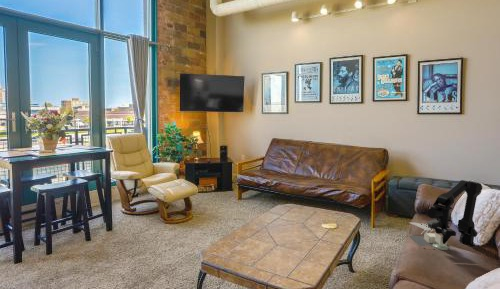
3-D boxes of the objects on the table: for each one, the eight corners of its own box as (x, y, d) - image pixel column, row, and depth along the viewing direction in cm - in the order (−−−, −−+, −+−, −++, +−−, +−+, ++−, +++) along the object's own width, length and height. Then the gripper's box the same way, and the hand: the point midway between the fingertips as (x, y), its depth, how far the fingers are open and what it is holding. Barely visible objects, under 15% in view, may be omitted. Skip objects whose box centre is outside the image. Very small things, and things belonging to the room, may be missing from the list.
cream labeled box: (438, 239, 206) (438, 233, 206) (443, 243, 201) (443, 237, 200) (423, 239, 207) (424, 232, 206) (428, 242, 201) (429, 236, 200)
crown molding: (409, 221, 239) (438, 224, 235) (409, 223, 239) (438, 226, 235) (419, 233, 216) (452, 236, 212) (419, 235, 216) (452, 238, 212)
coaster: (443, 244, 199) (443, 243, 199) (451, 250, 190) (451, 249, 190) (429, 244, 199) (429, 242, 199) (437, 249, 191) (437, 248, 191)
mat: (433, 237, 212) (434, 236, 211) (452, 251, 191) (452, 249, 191) (407, 236, 212) (407, 234, 212) (423, 250, 191) (423, 248, 191)
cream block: (441, 240, 197) (442, 232, 197) (446, 244, 191) (447, 236, 191) (434, 240, 198) (435, 232, 197) (440, 244, 192) (440, 236, 191)
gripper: (421, 211, 202) (419, 235, 204) (437, 221, 184) (435, 247, 185) (440, 211, 202) (437, 235, 204) (457, 222, 183) (455, 248, 185)
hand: (441, 241), depth 194 cm, fingers closed on cream block, 6 cm apart
